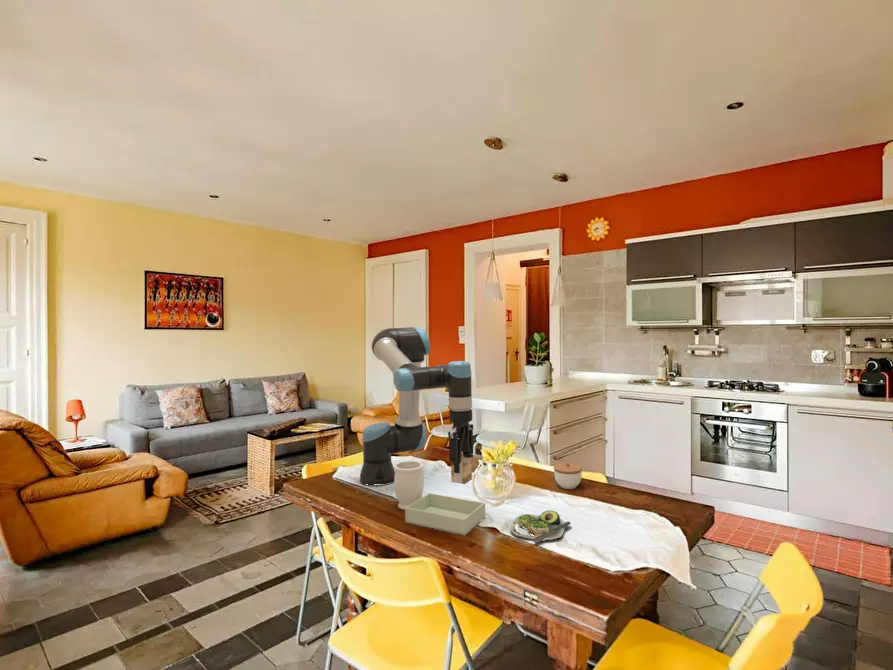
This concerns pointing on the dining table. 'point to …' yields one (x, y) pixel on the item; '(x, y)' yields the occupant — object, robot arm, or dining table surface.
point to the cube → (463, 473)
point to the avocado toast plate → (540, 526)
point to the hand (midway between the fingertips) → (462, 479)
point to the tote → (445, 513)
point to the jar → (408, 482)
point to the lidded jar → (568, 475)
